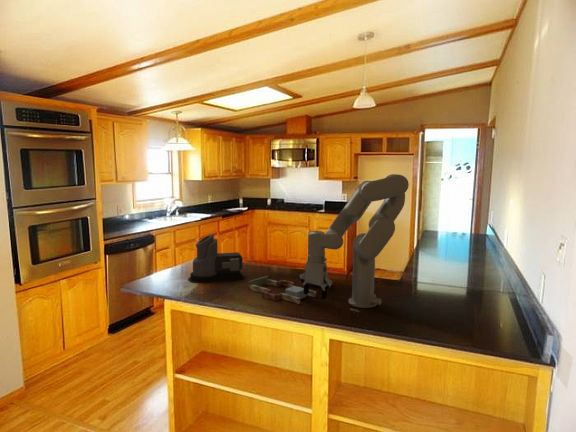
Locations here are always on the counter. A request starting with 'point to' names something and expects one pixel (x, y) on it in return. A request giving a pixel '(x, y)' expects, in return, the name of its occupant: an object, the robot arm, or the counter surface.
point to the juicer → (214, 263)
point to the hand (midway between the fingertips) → (315, 296)
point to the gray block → (295, 292)
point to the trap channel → (267, 293)
